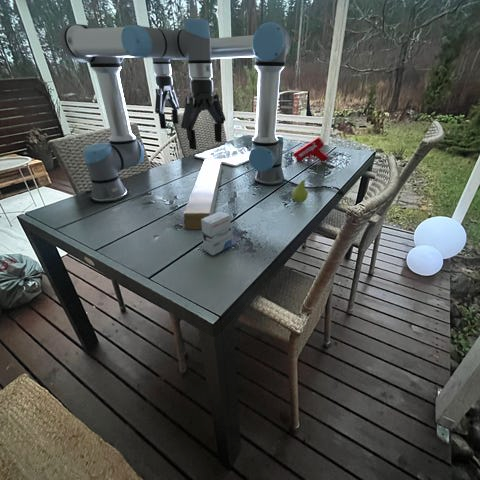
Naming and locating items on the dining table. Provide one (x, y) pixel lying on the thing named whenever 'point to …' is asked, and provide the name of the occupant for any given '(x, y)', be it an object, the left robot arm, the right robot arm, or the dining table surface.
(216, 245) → the ink box
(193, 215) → the slab
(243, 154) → the relief map
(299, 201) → the fruit
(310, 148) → the toy gun
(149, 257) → the dining table surface
